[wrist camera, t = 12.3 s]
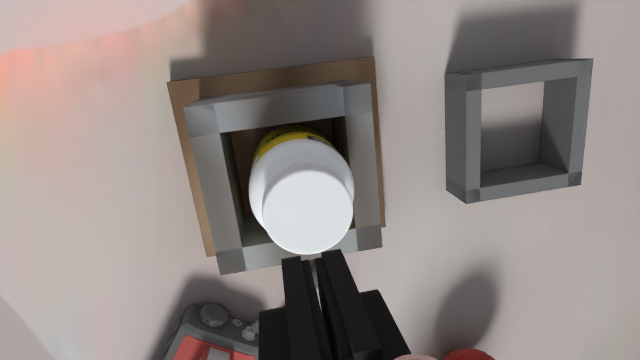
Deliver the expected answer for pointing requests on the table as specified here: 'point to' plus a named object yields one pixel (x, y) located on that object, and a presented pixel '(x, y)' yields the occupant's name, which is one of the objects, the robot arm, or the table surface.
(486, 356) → the onion
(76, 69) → the table surface
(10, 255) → the table surface
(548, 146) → the frame
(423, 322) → the table surface
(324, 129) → the socket
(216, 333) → the walkie-talkie
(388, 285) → the table surface
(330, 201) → the supplement bottle
